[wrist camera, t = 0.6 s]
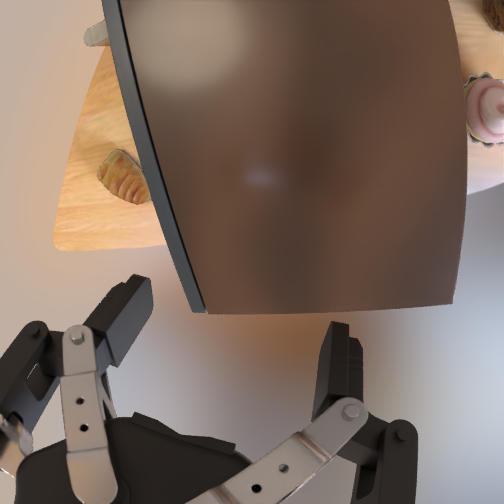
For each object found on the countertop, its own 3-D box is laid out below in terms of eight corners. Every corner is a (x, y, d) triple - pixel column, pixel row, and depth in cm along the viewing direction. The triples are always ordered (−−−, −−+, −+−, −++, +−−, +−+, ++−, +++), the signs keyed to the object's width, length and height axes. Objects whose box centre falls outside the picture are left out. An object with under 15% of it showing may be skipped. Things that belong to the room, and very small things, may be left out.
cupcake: (499, 75, 27) (538, 80, 19) (500, 141, 32) (537, 162, 24) (439, 67, 30) (470, 67, 22) (442, 137, 34) (472, 157, 26)
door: (217, 202, 47) (133, 311, 27) (174, 26, 34) (38, 11, 14) (265, 197, 45) (206, 313, 25) (224, 11, 32) (110, -38, 12)
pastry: (162, 181, 47) (149, 190, 44) (142, 210, 51) (130, 220, 47) (118, 144, 45) (104, 151, 42) (102, 175, 49) (88, 183, 46)
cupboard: (267, 196, 45) (208, 314, 24) (226, 10, 32) (112, -40, 12) (397, 185, 39) (452, 304, 19) (368, -11, 27) (411, -101, 7)
